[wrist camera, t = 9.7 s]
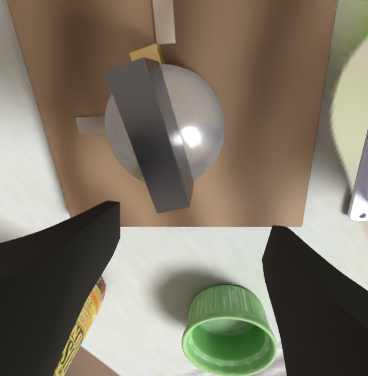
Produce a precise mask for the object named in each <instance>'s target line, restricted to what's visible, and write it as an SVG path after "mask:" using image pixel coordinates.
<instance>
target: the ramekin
mask: <svg viewBox="0 0 368 376" xmlns="http://www.w3.org/2000/svg"><path fill="white" fill-rule="evenodd" d="M182 349H183V352H184V354H185V356H186V357H187V358H188V360H189V361H190V362H191V363H193V364H194V365H195V366H196V367H198V368H200V369H201V370H203V371H206V372H208V373H211V374H215V375H219V376H248V375H252V374H255V373H258V372H260V371H262V370H264V369H265V368H267V367H268V366H269V365H270V364H271V363H272V362H273V361H274V359H275V357H276V354H277V342H276V339H275V336H274V334H273V332H272V331H271V329H270V327H269V324H268V320H267V317H266V314H265V311H264V308H263V306H262V304H261V302H260V300H259V299H258V298H257V297H256V296H255V295H254V294H253V293H251V292H250V291H248V290H246V289H244V288H241V287H237V286H233V285H217V286H213V287H209V288H207V289H205V290H203V291H201V292H200V293H198V294H197V295H196V296H195V298H194V299H193V301H192V303H191V306H190V309H189V314H188V320H187V325H186V329H185V331H184V334H183V337H182Z"/></svg>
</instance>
